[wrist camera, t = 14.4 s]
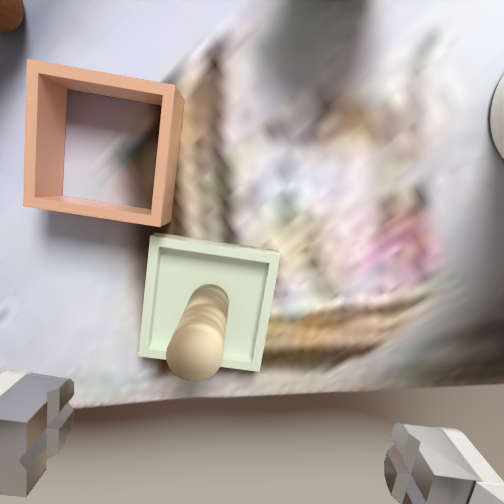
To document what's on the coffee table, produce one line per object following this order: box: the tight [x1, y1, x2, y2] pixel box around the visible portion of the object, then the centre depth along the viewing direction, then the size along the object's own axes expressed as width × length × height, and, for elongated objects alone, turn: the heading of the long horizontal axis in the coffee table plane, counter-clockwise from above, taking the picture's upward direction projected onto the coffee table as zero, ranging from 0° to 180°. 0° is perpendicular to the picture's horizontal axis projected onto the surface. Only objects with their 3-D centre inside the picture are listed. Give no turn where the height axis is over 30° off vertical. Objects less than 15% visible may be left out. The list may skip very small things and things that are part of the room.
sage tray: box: [138, 233, 280, 372], centre depth 38 cm, size 14×14×2 cm
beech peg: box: [166, 284, 229, 381], centre depth 32 cm, size 4×4×12 cm
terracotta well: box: [23, 59, 185, 227], centre depth 33 cm, size 13×13×5 cm
